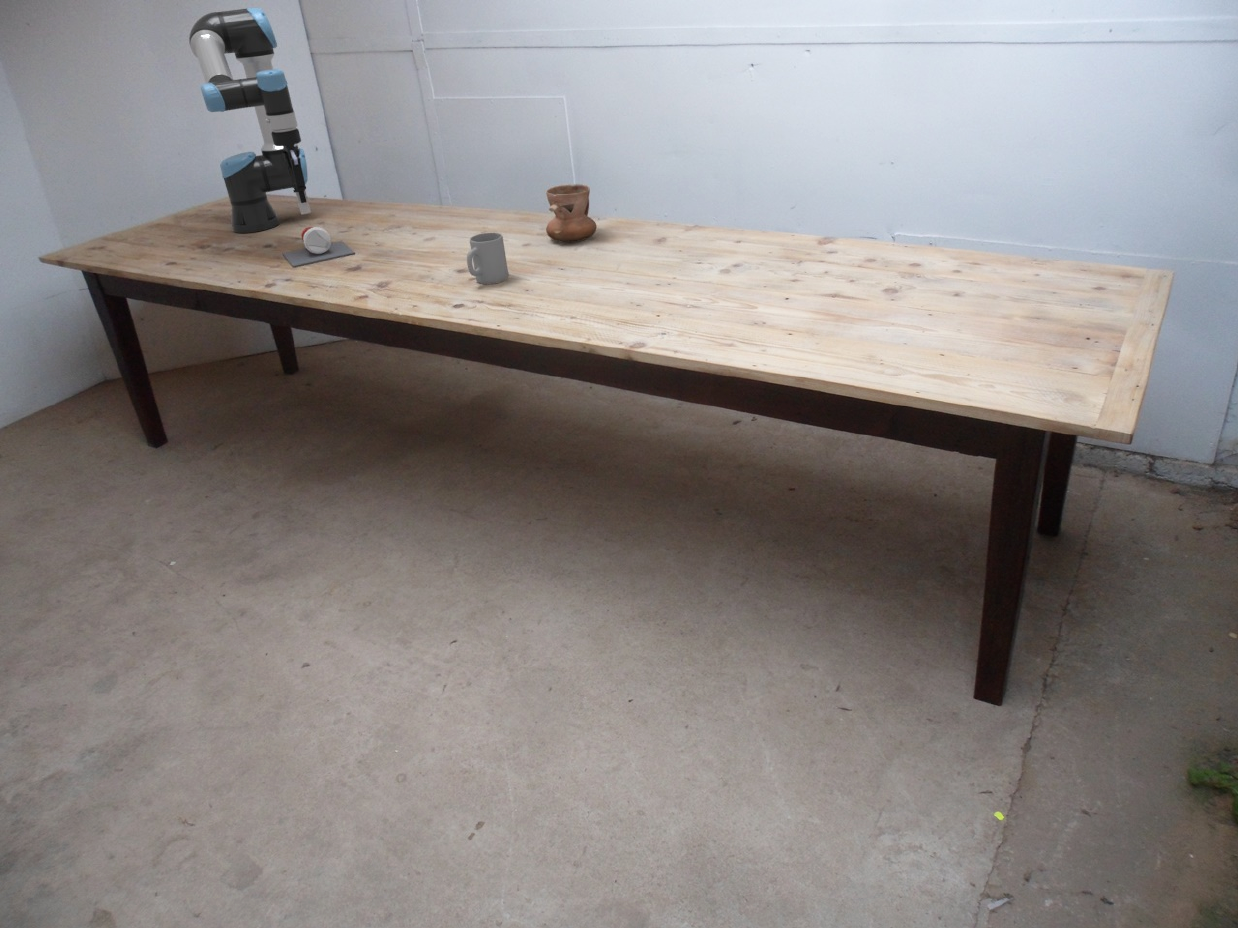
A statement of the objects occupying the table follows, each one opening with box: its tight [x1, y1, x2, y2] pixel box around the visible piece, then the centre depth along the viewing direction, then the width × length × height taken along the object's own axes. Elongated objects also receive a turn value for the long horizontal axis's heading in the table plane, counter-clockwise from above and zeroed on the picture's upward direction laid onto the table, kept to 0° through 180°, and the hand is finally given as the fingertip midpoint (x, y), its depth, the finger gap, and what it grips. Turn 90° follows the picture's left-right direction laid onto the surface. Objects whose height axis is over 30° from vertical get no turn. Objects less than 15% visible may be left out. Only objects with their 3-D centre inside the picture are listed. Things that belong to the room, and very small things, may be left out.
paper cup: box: [300, 226, 332, 254], centre depth 272 cm, size 8×8×14 cm
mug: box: [466, 232, 509, 285], centre depth 233 cm, size 12×8×11 cm
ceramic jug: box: [545, 183, 597, 243], centre depth 259 cm, size 18×14×14 cm
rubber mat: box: [282, 240, 356, 268], centre depth 271 cm, size 16×18×1 cm
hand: (305, 213), depth 268 cm, fingers closed
